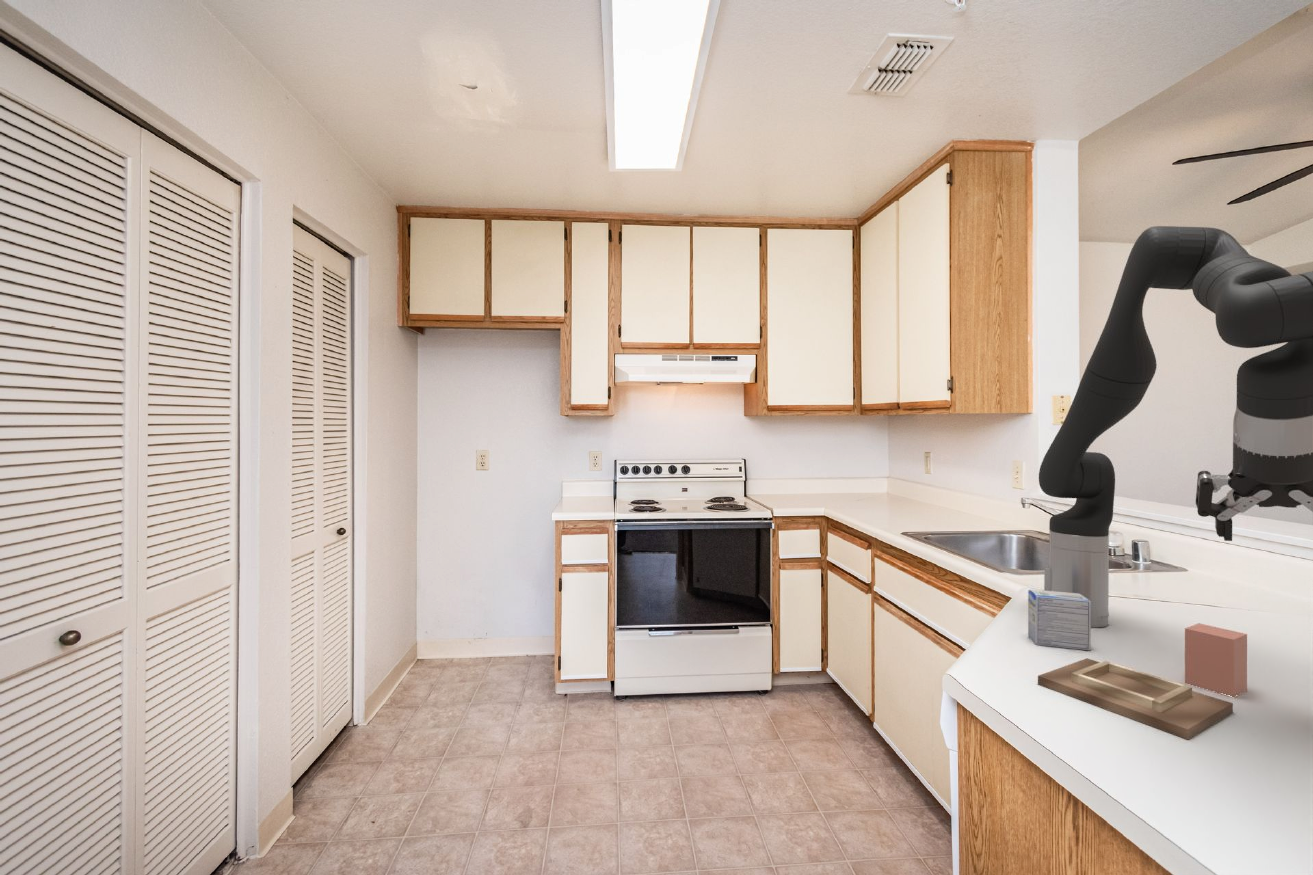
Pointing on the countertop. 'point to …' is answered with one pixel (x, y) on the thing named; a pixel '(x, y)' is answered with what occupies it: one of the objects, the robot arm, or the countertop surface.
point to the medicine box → (1059, 619)
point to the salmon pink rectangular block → (1216, 659)
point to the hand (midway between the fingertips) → (1273, 538)
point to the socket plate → (1138, 696)
